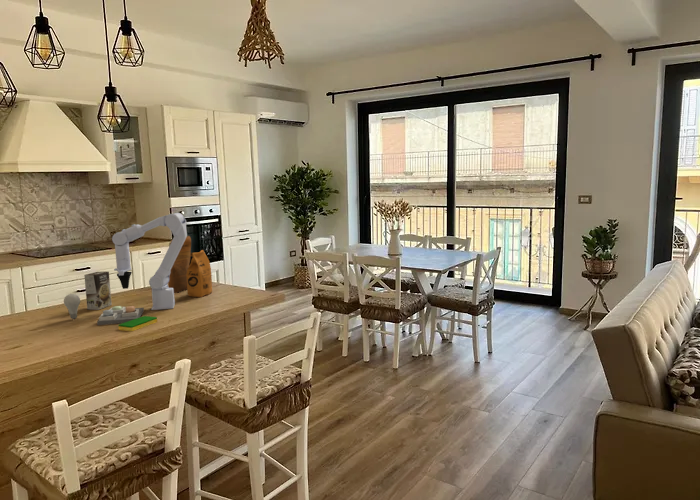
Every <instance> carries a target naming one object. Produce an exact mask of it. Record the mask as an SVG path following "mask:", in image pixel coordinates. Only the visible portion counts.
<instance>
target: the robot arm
mask: <svg viewBox="0 0 700 500" xmlns="http://www.w3.org/2000/svg"><path fill="white" fill-rule="evenodd" d="M160 226H161V227H167V228H168V229H169V230H170V232H171V233H172V235H173V238H172V239H171V240H172V242H171V241H170V242H171V244H170V246H169V245H168V248H167V251H166V253H165V255H164V256H163V259H162V260H161V263H160V265H159V267H158V268H157V270H156V271H155V273H154V274H153V275H152V276H151V277H150V278H149V280H148V284H149V286H150V288H151V298H152V300H151V301H152V306H151V309H150V310H151V311H155V310H157V311H158V310H167V309H168V310H169V309H174V307H175V304H176V300H175V293H174V289H173V288H169V286H168V282H169V276H170V273H171V268H172V266H173V264H174V262H175V260H176V258H177V256H178V254H179V252H180V250H181V248H182V246H183V244H184V241H185V239H186V237H187V236H188V233H187V232H188V231H187V220H186V218H185V216H184V215H183V214H182V213H180V212H174V213H168V214H167V215H166V214H165V215H162V216H158V217H157V218H155V219H153V220H151V221H148V222H145V223H144V224H131V226H130V227H128V228H124V229H122V230H121V231H120V232H119V231H117V232H115V234H113V235H112V237H111V239H112V240H111V241H112V243H113V244H114V250H115V260H116V261H115V262H116V268H114V269H113V270H114V272H117V273H116V276H117V278H118V280H119V282H120V284H121V288H122V289H125V290H126V289H129V286H130V279H131V276H132V273H133V272H132V267H131V255H130V252H131V251H130V245H129V244H130V242H133V241H135V240H138V239H139V238H143V237H144V236H145V234H146V232H148V231H150V230H153V229H155V228H158V227H160Z"/></svg>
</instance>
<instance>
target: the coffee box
mask: <svg viewBox="0 0 700 500" xmlns="http://www.w3.org/2000/svg"><path fill="white" fill-rule="evenodd" d="M109 272H110V271H95V272H91V273H87V274H84V285H85V297H86V299H85V300H86V309H87V310H93V311H94V310H96V311H98V310H101V309H105V308H108V307H111V306H112V305H113V304H112V295H111V294H112V293H111V292H112V291H111V280H110V273H109Z"/></svg>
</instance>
